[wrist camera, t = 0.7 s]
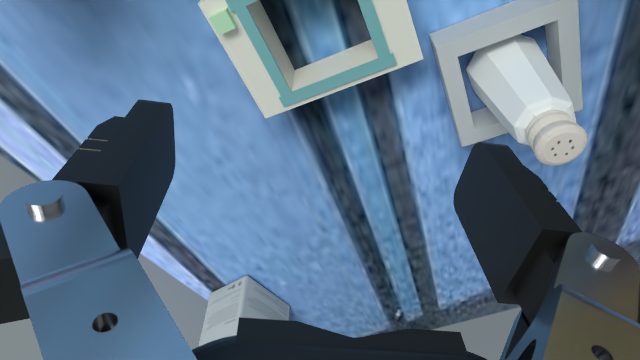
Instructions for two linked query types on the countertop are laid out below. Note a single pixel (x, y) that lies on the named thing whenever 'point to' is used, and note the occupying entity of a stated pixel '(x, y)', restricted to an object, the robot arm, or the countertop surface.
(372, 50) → the port
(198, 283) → the countertop surface
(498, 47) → the pepper shaker
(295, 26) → the countertop surface
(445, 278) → the countertop surface
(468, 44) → the square picture frame
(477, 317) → the countertop surface
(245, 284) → the skincare box
